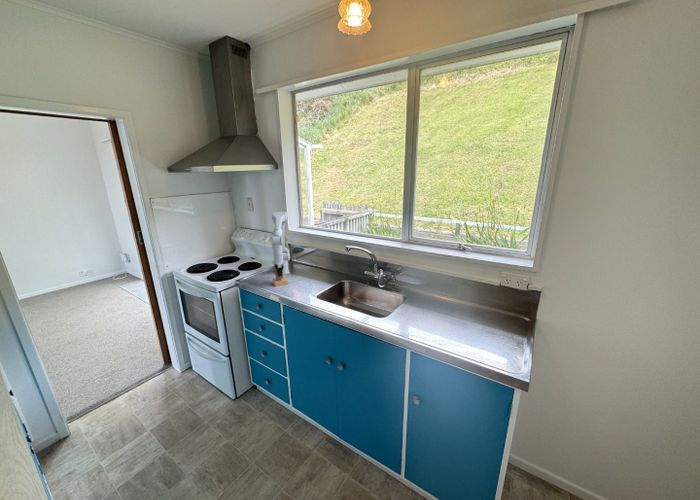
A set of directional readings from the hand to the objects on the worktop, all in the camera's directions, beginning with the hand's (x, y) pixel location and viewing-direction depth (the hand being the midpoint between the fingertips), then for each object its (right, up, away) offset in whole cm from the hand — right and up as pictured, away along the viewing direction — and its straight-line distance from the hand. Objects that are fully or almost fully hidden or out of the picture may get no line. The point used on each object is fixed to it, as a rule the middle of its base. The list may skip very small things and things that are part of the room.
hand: (279, 274), depth 182 cm
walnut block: (0, -2, 0) cm, 2 cm away
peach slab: (0, -6, +2) cm, 6 cm away
